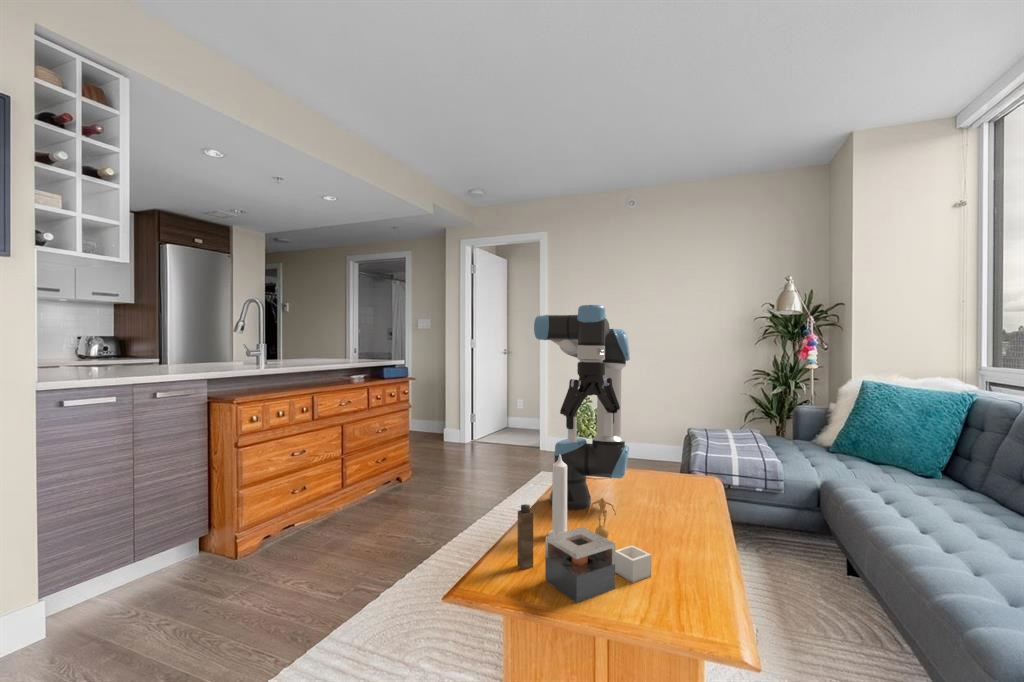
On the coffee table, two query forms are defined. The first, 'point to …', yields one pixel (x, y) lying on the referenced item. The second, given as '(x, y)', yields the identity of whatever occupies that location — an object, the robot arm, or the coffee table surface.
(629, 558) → the pen cup
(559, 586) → the grey box with hole
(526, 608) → the coffee table surface
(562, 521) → the candle
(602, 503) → the figurine
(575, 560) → the button
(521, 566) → the wood knob block
